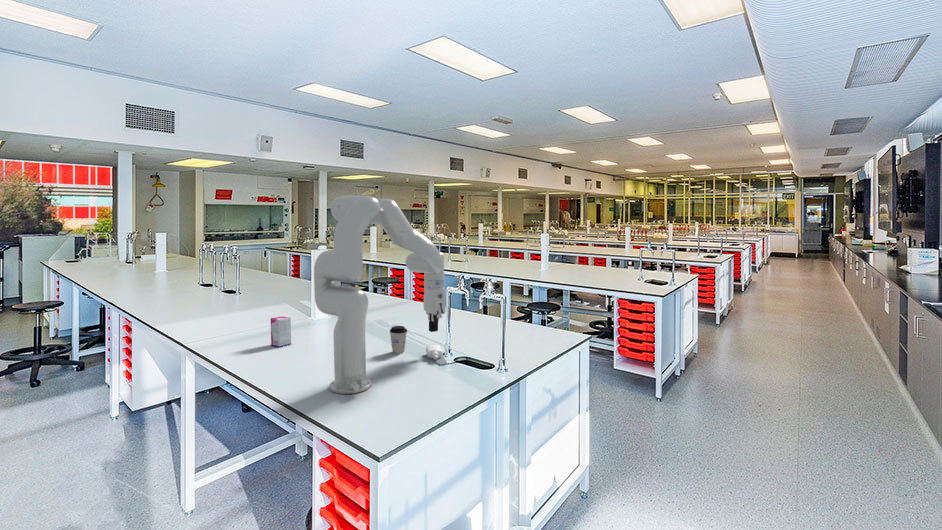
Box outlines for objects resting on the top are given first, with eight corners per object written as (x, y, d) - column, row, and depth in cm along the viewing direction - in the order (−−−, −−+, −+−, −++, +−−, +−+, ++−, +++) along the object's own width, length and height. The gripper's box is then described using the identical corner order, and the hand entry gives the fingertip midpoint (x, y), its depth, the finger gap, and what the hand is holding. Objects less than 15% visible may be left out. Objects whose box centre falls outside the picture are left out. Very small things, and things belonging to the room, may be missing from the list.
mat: (464, 361, 170) (464, 360, 170) (440, 365, 165) (440, 364, 165) (447, 352, 180) (447, 351, 180) (425, 356, 175) (425, 355, 175)
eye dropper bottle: (436, 356, 180) (440, 365, 168) (423, 350, 178) (426, 359, 167) (441, 346, 180) (445, 355, 168) (429, 340, 178) (432, 348, 167)
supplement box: (292, 344, 190) (291, 317, 188) (279, 347, 185) (278, 320, 183) (283, 342, 193) (282, 315, 191) (270, 345, 188) (269, 318, 186)
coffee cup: (402, 348, 185) (402, 324, 184) (410, 353, 180) (410, 328, 178) (386, 351, 181) (386, 326, 180) (394, 355, 176) (393, 330, 175)
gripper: (452, 286, 172) (451, 334, 173) (433, 281, 184) (432, 326, 186) (434, 287, 168) (434, 336, 169) (416, 282, 180) (416, 328, 182)
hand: (433, 331), depth 178 cm, fingers closed
